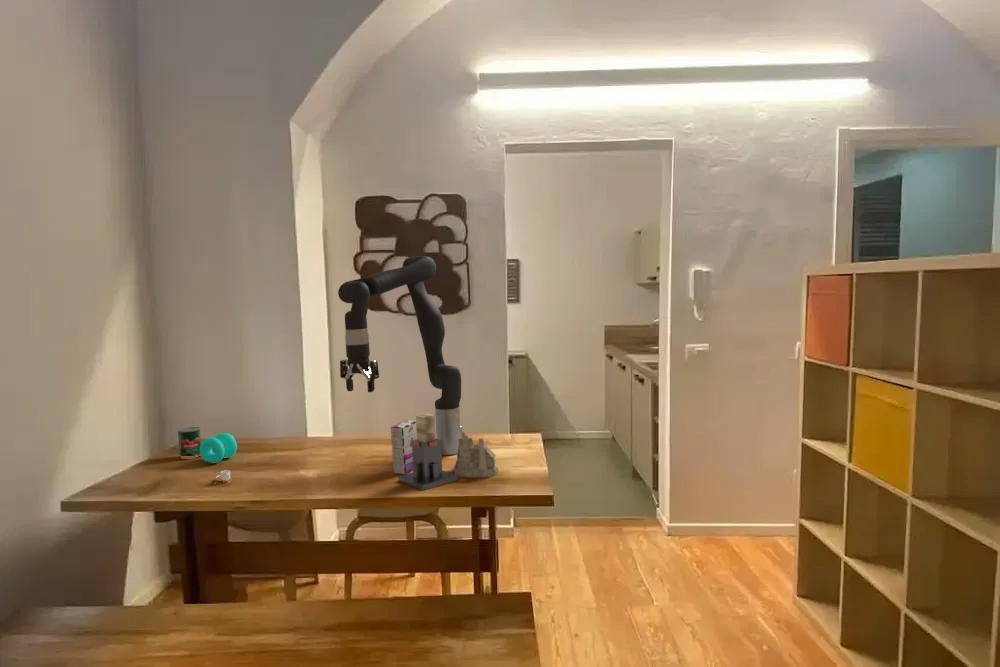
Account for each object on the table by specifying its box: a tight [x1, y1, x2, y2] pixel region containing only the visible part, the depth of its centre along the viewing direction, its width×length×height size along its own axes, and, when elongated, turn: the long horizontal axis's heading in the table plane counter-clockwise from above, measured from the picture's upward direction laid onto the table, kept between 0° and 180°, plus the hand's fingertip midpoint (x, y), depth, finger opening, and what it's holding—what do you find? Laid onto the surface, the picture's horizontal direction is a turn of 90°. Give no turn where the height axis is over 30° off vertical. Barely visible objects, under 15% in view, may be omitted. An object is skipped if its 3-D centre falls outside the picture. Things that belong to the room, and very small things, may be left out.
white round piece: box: [215, 469, 231, 481], centre depth 220 cm, size 9×8×4 cm
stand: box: [397, 439, 459, 491], centre depth 213 cm, size 14×14×14 cm
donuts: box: [200, 432, 238, 463], centre depth 247 cm, size 10×10×10 cm
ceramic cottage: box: [453, 431, 499, 479], centre depth 223 cm, size 16×16×15 cm
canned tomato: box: [177, 426, 202, 456], centre depth 254 cm, size 8×8×11 cm
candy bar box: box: [390, 419, 417, 475], centre depth 227 cm, size 11×5×16 cm, turn 160°
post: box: [415, 413, 436, 443], centre depth 213 cm, size 5×5×20 cm
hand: (360, 391), depth 216 cm, fingers open, 8 cm apart
